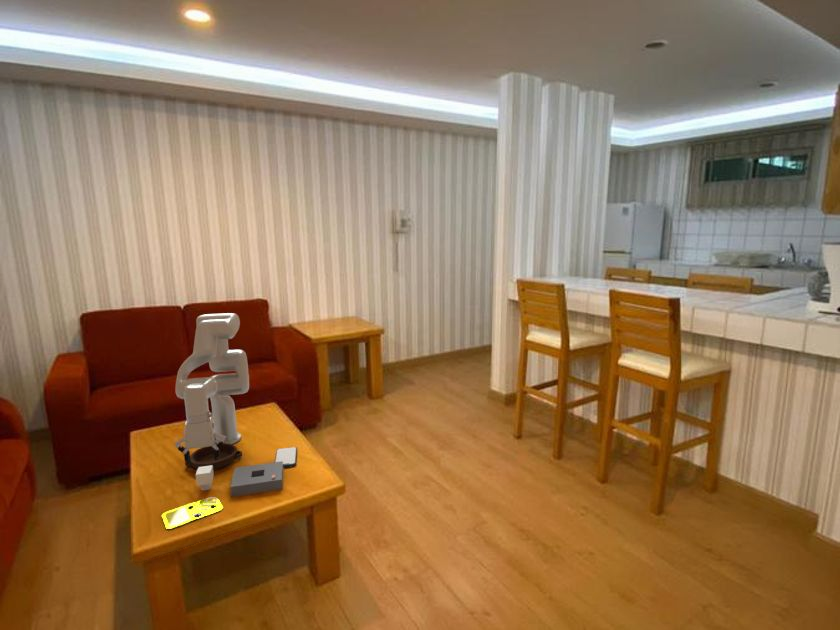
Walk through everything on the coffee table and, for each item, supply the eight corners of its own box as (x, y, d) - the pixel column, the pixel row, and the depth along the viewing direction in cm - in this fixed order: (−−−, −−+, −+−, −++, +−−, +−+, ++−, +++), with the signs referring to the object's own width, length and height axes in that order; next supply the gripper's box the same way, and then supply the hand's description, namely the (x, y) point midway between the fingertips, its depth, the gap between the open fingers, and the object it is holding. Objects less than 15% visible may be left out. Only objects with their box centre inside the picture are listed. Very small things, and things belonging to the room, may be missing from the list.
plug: (200, 484, 176) (198, 467, 175) (214, 482, 178) (212, 465, 176) (197, 493, 171) (195, 474, 169) (212, 490, 172) (210, 472, 171)
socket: (235, 476, 181) (234, 466, 181) (283, 470, 186) (282, 459, 185) (231, 496, 168) (230, 485, 167) (282, 489, 173) (281, 478, 172)
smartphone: (276, 452, 202) (273, 470, 187) (276, 448, 202) (273, 466, 187) (297, 449, 204) (296, 467, 189) (297, 446, 204) (296, 463, 189)
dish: (243, 468, 188) (242, 457, 187) (183, 479, 180) (181, 468, 179) (242, 449, 204) (241, 438, 203) (187, 459, 196) (185, 448, 195)
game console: (167, 533, 150) (167, 529, 149) (160, 516, 158) (160, 513, 158) (224, 511, 161) (224, 507, 161) (215, 497, 169) (215, 493, 169)
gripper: (224, 410, 174) (228, 452, 177) (174, 416, 170) (179, 459, 173) (221, 418, 167) (226, 462, 170) (169, 424, 163) (174, 468, 166)
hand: (202, 460), depth 171 cm, fingers open, 9 cm apart
